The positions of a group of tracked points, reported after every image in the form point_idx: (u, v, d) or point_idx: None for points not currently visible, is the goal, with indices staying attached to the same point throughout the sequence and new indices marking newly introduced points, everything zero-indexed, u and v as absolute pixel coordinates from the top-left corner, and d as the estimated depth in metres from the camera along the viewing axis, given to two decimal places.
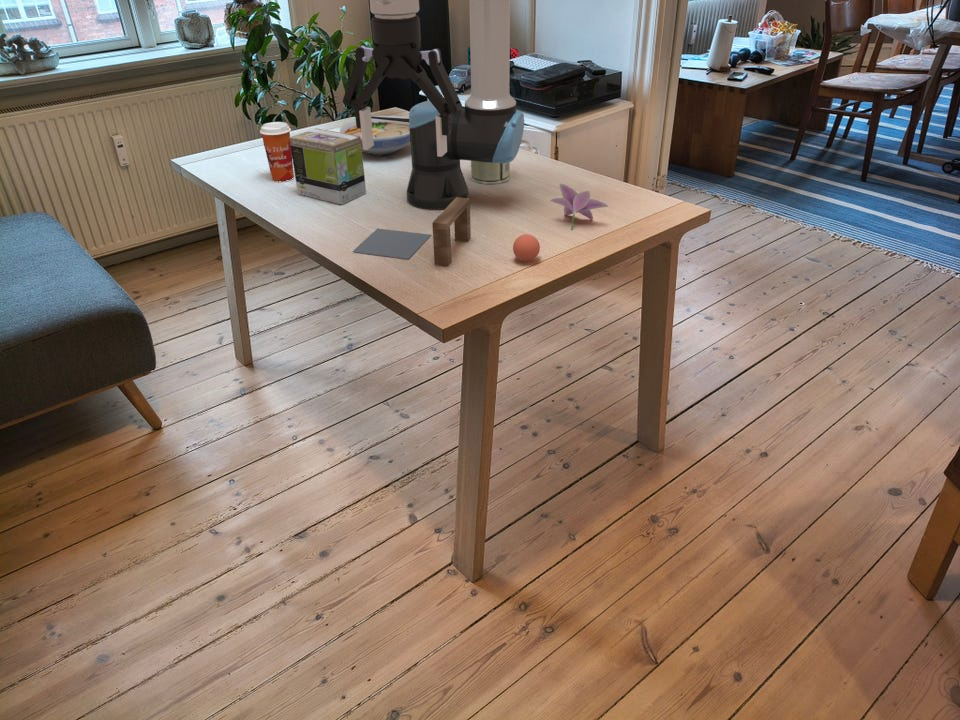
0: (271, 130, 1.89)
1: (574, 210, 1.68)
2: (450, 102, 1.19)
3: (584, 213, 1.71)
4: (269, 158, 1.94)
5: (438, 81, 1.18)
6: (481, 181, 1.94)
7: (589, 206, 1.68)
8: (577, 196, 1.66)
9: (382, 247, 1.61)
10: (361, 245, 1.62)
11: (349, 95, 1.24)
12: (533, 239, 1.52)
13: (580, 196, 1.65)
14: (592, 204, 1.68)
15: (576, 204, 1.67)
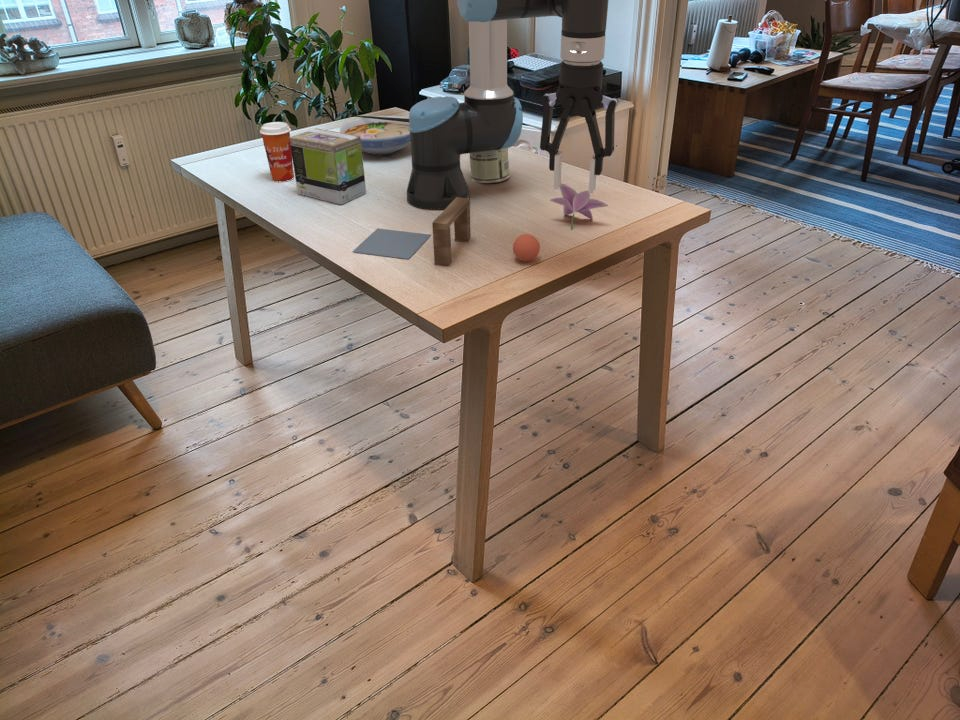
0: (271, 130, 1.89)
1: (574, 210, 1.68)
2: (608, 147, 1.35)
3: (583, 212, 1.71)
4: (269, 158, 1.94)
5: (607, 126, 1.34)
6: (481, 180, 1.94)
7: (589, 205, 1.69)
8: (577, 196, 1.66)
9: (382, 247, 1.61)
10: (361, 245, 1.62)
11: (544, 140, 1.39)
12: (533, 239, 1.52)
13: (579, 195, 1.66)
14: (592, 204, 1.68)
15: (576, 204, 1.67)
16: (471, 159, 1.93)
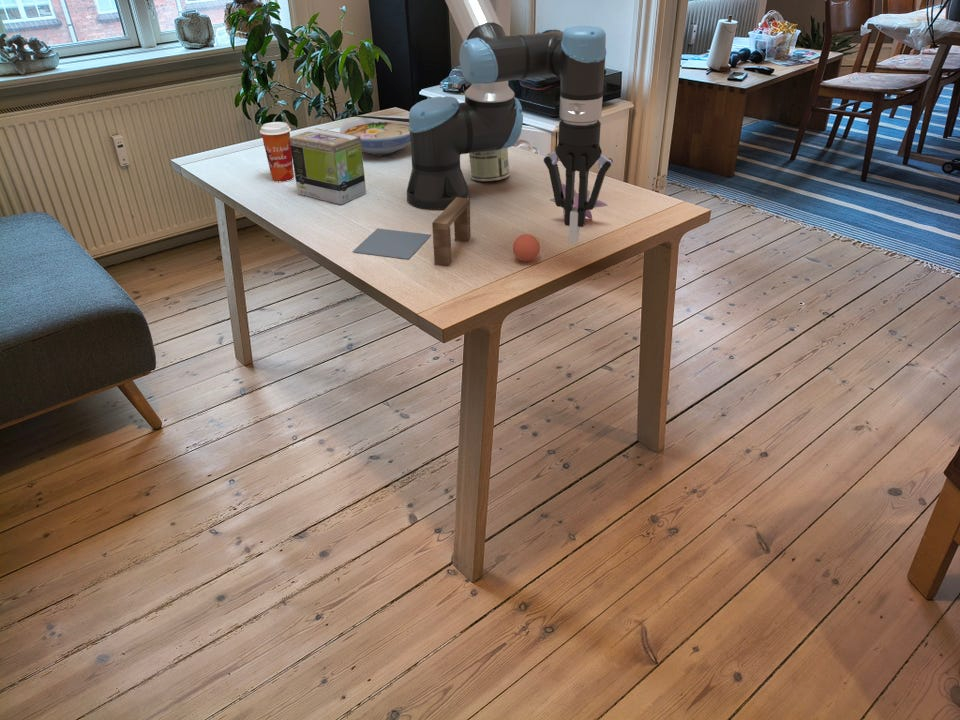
0: (271, 130, 1.89)
1: None
2: (592, 201, 1.42)
3: None
4: (269, 158, 1.94)
5: (596, 183, 1.40)
6: (481, 179, 1.93)
7: None
8: (576, 195, 1.66)
9: (382, 247, 1.61)
10: (361, 245, 1.62)
11: (558, 197, 1.44)
12: (533, 239, 1.52)
13: None
14: None
15: (575, 203, 1.67)
16: (471, 157, 1.93)
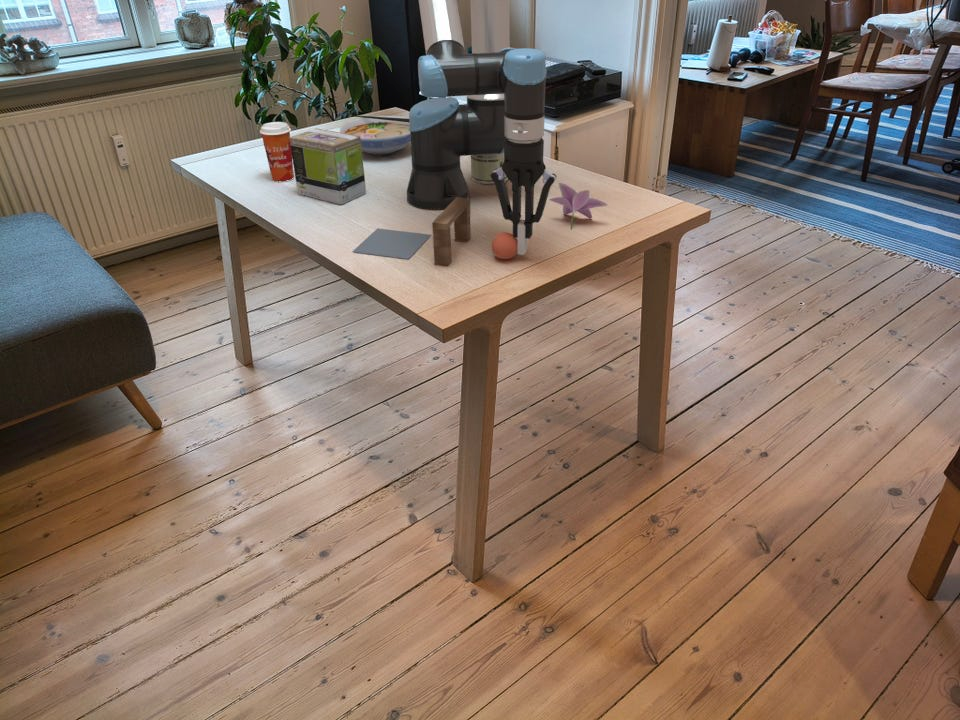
0: (271, 130, 1.89)
1: (573, 209, 1.68)
2: (538, 214, 1.48)
3: (583, 212, 1.71)
4: (269, 158, 1.94)
5: (541, 197, 1.46)
6: (481, 181, 1.94)
7: (589, 205, 1.69)
8: (576, 195, 1.66)
9: (382, 247, 1.61)
10: (361, 245, 1.62)
11: (506, 210, 1.50)
12: (498, 235, 1.53)
13: (579, 195, 1.66)
14: (591, 203, 1.68)
15: (575, 203, 1.67)
16: (472, 159, 1.93)
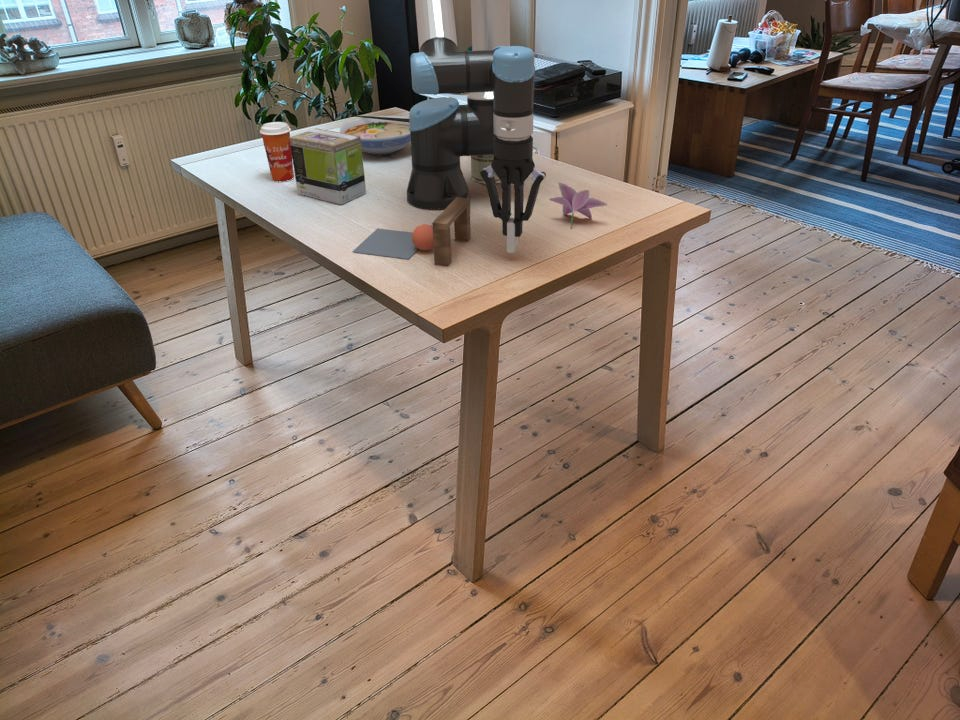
0: (271, 130, 1.89)
1: (573, 209, 1.68)
2: (527, 213, 1.48)
3: (583, 212, 1.71)
4: (269, 158, 1.94)
5: (530, 195, 1.46)
6: (481, 181, 1.94)
7: (588, 205, 1.69)
8: (576, 195, 1.66)
9: (382, 247, 1.61)
10: (361, 245, 1.62)
11: (495, 208, 1.50)
12: (417, 227, 1.58)
13: (579, 194, 1.66)
14: (591, 203, 1.68)
15: (575, 203, 1.68)
16: (473, 159, 1.93)
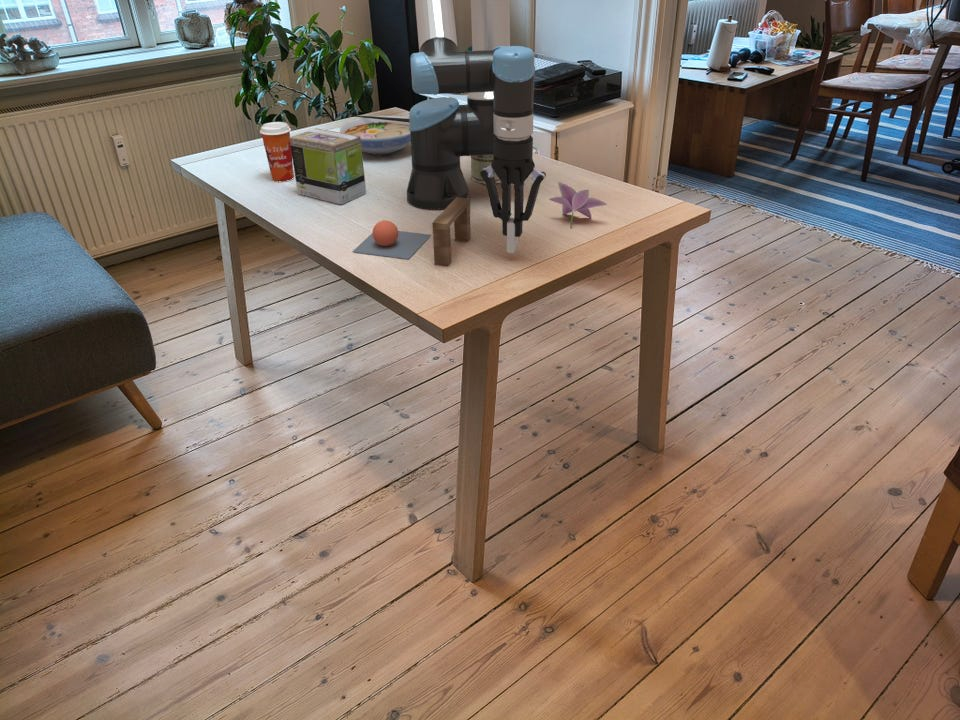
0: (271, 130, 1.89)
1: (573, 209, 1.68)
2: (527, 213, 1.48)
3: (582, 211, 1.72)
4: (269, 158, 1.94)
5: (530, 195, 1.46)
6: (481, 181, 1.94)
7: (588, 204, 1.69)
8: (576, 195, 1.67)
9: (382, 247, 1.61)
10: (361, 245, 1.62)
11: (495, 208, 1.50)
12: (392, 243, 1.61)
13: (579, 194, 1.66)
14: (591, 202, 1.69)
15: (575, 203, 1.68)
16: (473, 159, 1.93)
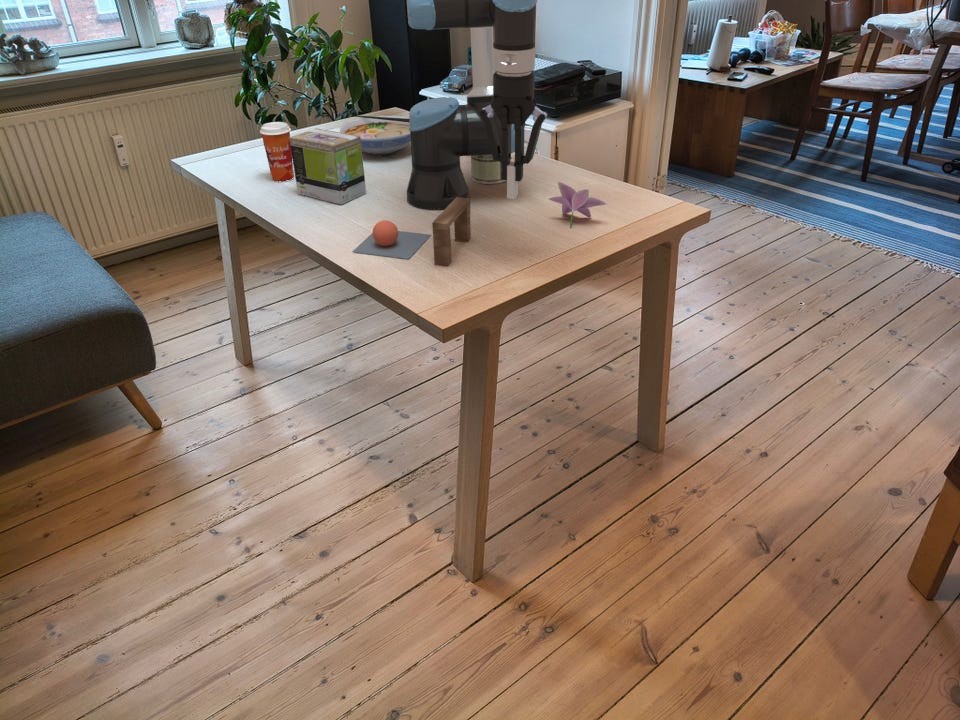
0: (271, 130, 1.89)
1: (573, 208, 1.69)
2: (528, 155, 1.42)
3: (582, 211, 1.72)
4: (269, 158, 1.94)
5: (532, 136, 1.40)
6: (481, 181, 1.94)
7: (588, 204, 1.69)
8: (576, 194, 1.67)
9: (382, 247, 1.61)
10: (361, 245, 1.62)
11: (495, 151, 1.44)
12: (392, 243, 1.61)
13: (578, 194, 1.66)
14: (590, 202, 1.69)
15: (575, 202, 1.68)
16: (473, 159, 1.93)
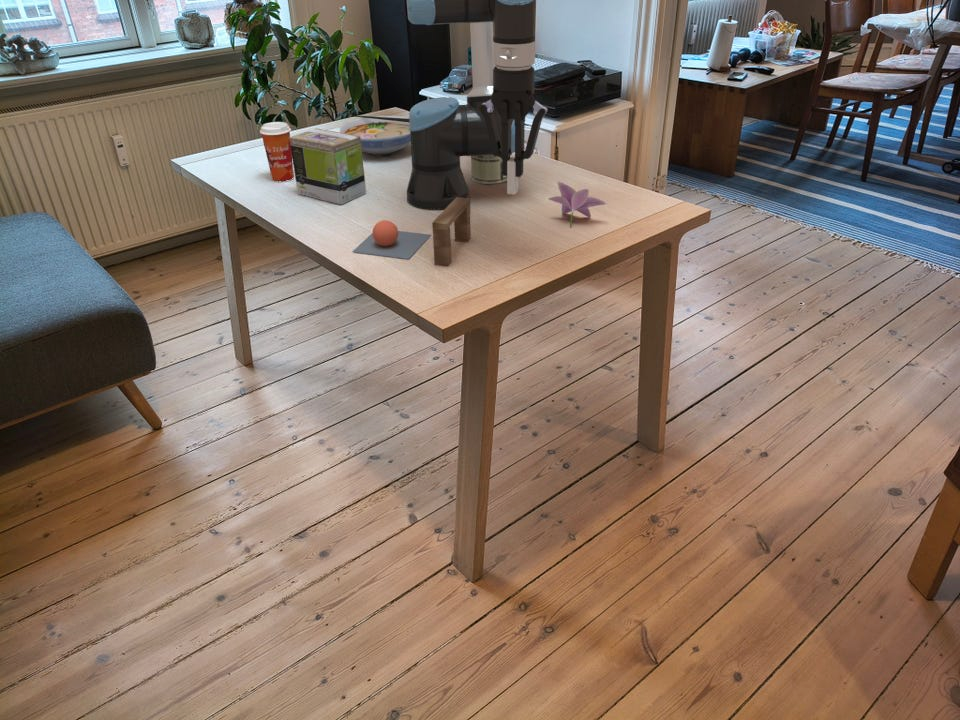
0: (271, 130, 1.89)
1: (572, 208, 1.69)
2: (528, 150, 1.41)
3: (582, 211, 1.72)
4: (269, 158, 1.94)
5: (532, 131, 1.39)
6: (482, 181, 1.94)
7: (587, 204, 1.70)
8: (575, 194, 1.67)
9: (382, 247, 1.61)
10: (361, 245, 1.62)
11: (495, 146, 1.43)
12: (392, 243, 1.61)
13: (578, 194, 1.66)
14: (590, 202, 1.69)
15: (574, 202, 1.68)
16: (473, 159, 1.92)
